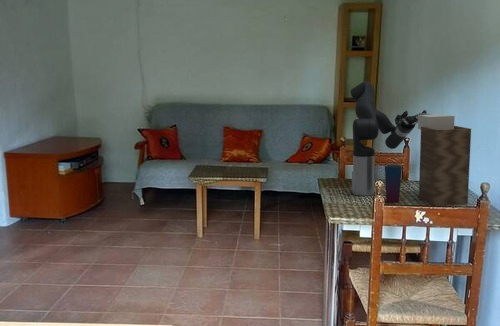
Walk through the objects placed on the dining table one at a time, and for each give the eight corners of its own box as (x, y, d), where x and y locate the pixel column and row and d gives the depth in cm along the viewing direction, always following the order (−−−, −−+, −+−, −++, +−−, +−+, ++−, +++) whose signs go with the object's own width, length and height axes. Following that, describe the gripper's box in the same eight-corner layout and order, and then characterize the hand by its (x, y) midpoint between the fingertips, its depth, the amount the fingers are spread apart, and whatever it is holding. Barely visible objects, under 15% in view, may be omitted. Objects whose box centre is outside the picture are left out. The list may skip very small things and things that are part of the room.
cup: (404, 202, 190) (405, 166, 187) (390, 204, 188) (390, 167, 185) (394, 198, 196) (395, 163, 194) (380, 200, 194) (381, 165, 192)
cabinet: (432, 205, 183) (435, 130, 178) (418, 197, 197) (420, 126, 192) (467, 204, 184) (471, 128, 179) (451, 195, 198) (454, 125, 192)
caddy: (428, 131, 189) (428, 116, 188) (409, 126, 210) (409, 113, 209) (454, 130, 189) (454, 115, 188) (432, 125, 210) (432, 112, 209)
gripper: (389, 120, 231) (399, 105, 216) (417, 119, 231) (429, 104, 216) (391, 134, 228) (402, 120, 213) (420, 133, 229) (432, 118, 213)
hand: (416, 112), depth 215 cm, fingers open, 8 cm apart
